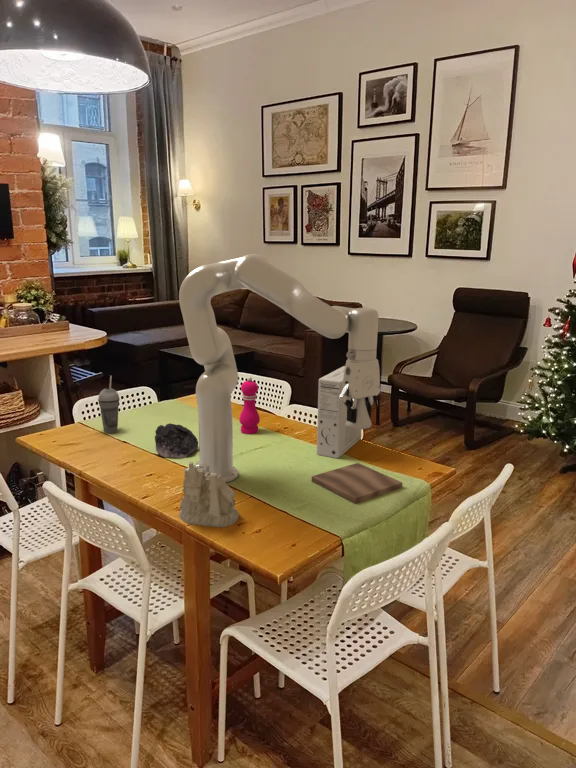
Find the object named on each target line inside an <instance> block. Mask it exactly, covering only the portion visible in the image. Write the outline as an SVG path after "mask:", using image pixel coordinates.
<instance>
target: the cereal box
mask: <svg viewBox="0 0 576 768" xmlns="http://www.w3.org/2000/svg"><path fill="white" fill-rule="evenodd" d="M344 370H345V365H343V366H341V367H339V368H337V369H336V370H335V369H334V370H333V371H331V372H330V373H328V374H326V375H324V376H322V377H320V378H319V379H318V394H317V397H318V398H317V427H316V429H317V430H316V431H317V433H316V436H317V437H316V455H318V456H323V457H329V458H333V459H339V458H341V456H343V455H344V454H345V453H347V451H349V450H350V449H351V448H352V447H353V446H355V444H356V443H358V442H359V441H360V440H361V439H362V429H354V428H350V427H348V426H345V424H346V421H347V407H346V406H345V404H344V403H343V402H342V401H341V400H340V399H339V396H340V394H341V392H342V390H343V376H344ZM346 397H347V396H346ZM352 400H353V399H351V402H352Z"/></svg>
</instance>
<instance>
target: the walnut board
mask: <svg viewBox="0 0 576 768" xmlns="http://www.w3.org/2000/svg"><path fill="white" fill-rule="evenodd" d="M311 482H312V483H315V484H316V485H318V486H320V487H322V488H324V489H326V490H328V491H330V492H331V493H333V494H335V495H337V496H339V497H341V498H343V499H345V500H347V501H349V502H351V503H353V504H355V505H356V504H359V503H361V502H365V501H367V500H371V499H374V498H377V497H379V496H381V495H384V494H388V493H390V492H393V491H396V490H399V489H402V488H403V481H400V480H398V479H396V478H393V477H391V476H389V475H387V474H384V473H382V472H380V471H377V470H375V469H373V468H370V467H369V466H365V465H364V464H361V463H360V462H356V463H352V464H349V465H345V466H342V467H338V468H334V469H332V470H328V471H325V472H321V473H318V474H315V475H312V476H311Z"/></svg>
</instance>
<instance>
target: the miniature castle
mask: <svg viewBox="0 0 576 768" xmlns="http://www.w3.org/2000/svg"><path fill="white" fill-rule="evenodd" d="M188 468H189V471H187V470H185V473H184V477H183V482H182V483H183V484H182V486H183V490H182V492H183V495H184V496H182V498H181V502H180V503H179V511H178V512H179V513H178V518H179V519H180V520H182V521H183V522H185V523H186V524H188V525H196V526H204V527H213V528H226V527H229V526H233V525H235V524H236V522H237V521H238V520H239V511H238V509H236V508H235V504H236V500H235V497H236V492H235V491H234V490H233V489H232V488H231V487H230V485H229V484H228V483H227V482H226V483H225V481H224V480H223V478H222V477H221V475H220V474H219V475H218V476H217V474H216V473H211V474H210V473H209V472H207V474H206V475H204V472H203V471H201V469H197V468H196V467H195V466H194V462H192V461H189V463H188Z"/></svg>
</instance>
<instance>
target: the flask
mask: <svg viewBox="0 0 576 768" xmlns="http://www.w3.org/2000/svg"><path fill="white" fill-rule="evenodd" d="M355 409H357V418H356V423H352V422H349V421H346V424H345V426H348V427H350V428H354V429H361V430H367V429H370V428H371V427H372V425H373V424H372V420H371V419H370V417H369V414H368V411H367V407H366V403H365V398H361V399H357V402H356V407H355Z"/></svg>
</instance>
